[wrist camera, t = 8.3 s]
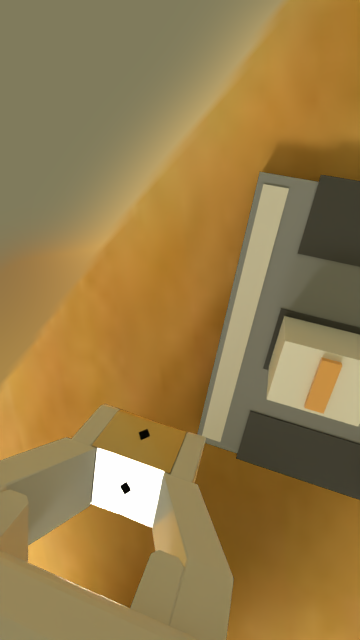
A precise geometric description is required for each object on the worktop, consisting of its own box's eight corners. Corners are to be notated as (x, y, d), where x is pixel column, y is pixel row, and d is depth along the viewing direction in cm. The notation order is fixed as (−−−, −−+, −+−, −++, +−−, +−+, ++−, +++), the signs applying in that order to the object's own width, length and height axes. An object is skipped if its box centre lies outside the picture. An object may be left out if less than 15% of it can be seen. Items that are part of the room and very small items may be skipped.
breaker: (344, 387, 18) (359, 430, 15) (268, 366, 19) (266, 402, 15) (365, 336, 17) (387, 370, 14) (284, 315, 18) (285, 343, 14)
